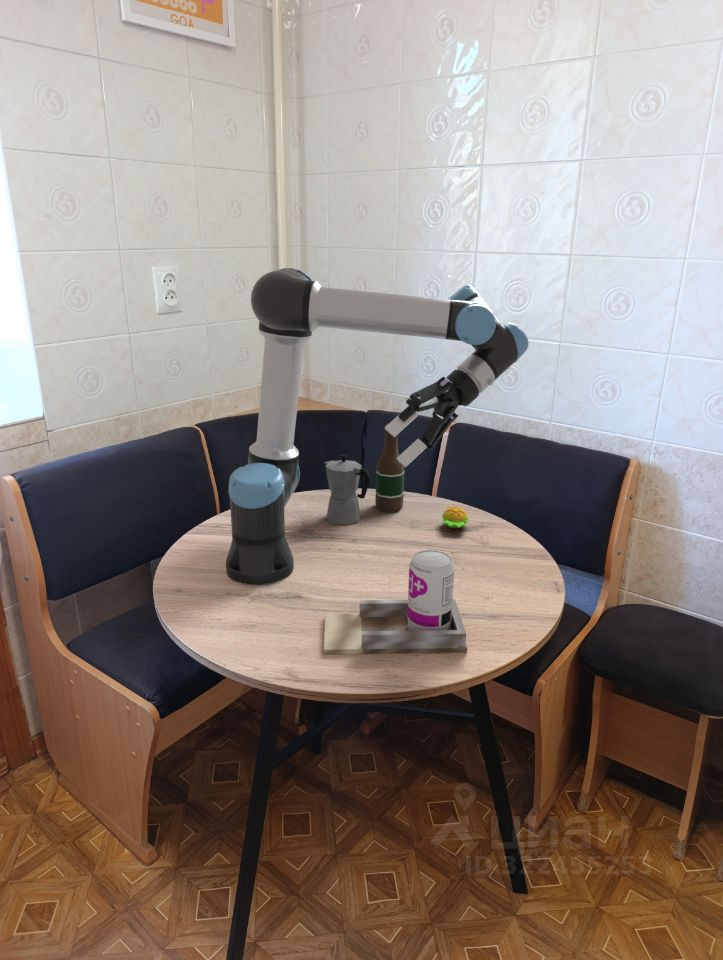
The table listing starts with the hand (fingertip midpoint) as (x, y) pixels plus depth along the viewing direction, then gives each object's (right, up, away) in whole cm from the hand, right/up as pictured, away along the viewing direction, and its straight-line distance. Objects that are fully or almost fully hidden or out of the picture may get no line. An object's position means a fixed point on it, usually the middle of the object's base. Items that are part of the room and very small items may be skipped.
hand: (395, 448), depth 137 cm
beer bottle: (+1, -14, +48) cm, 50 cm away
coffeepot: (-11, -17, +40) cm, 45 cm away
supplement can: (+6, -35, -11) cm, 37 cm away
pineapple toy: (+17, -19, +35) cm, 44 cm away
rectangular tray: (-1, -36, -11) cm, 38 cm away
